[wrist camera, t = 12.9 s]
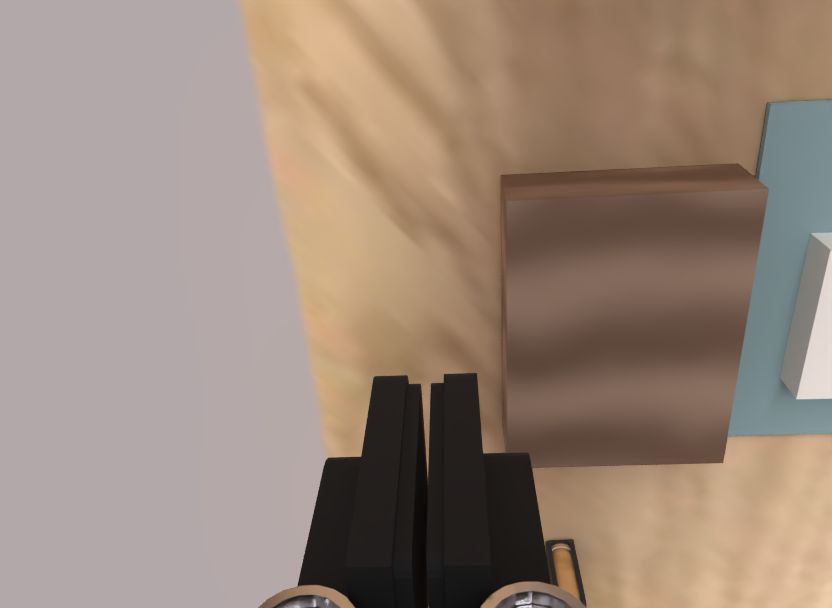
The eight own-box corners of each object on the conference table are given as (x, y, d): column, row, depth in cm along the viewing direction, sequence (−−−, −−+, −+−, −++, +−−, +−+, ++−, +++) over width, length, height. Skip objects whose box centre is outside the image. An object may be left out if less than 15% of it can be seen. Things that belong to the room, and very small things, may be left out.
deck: (500, 175, 38) (506, 201, 34) (738, 163, 37) (769, 188, 33) (502, 425, 45) (507, 468, 41) (700, 419, 44) (723, 462, 41)
